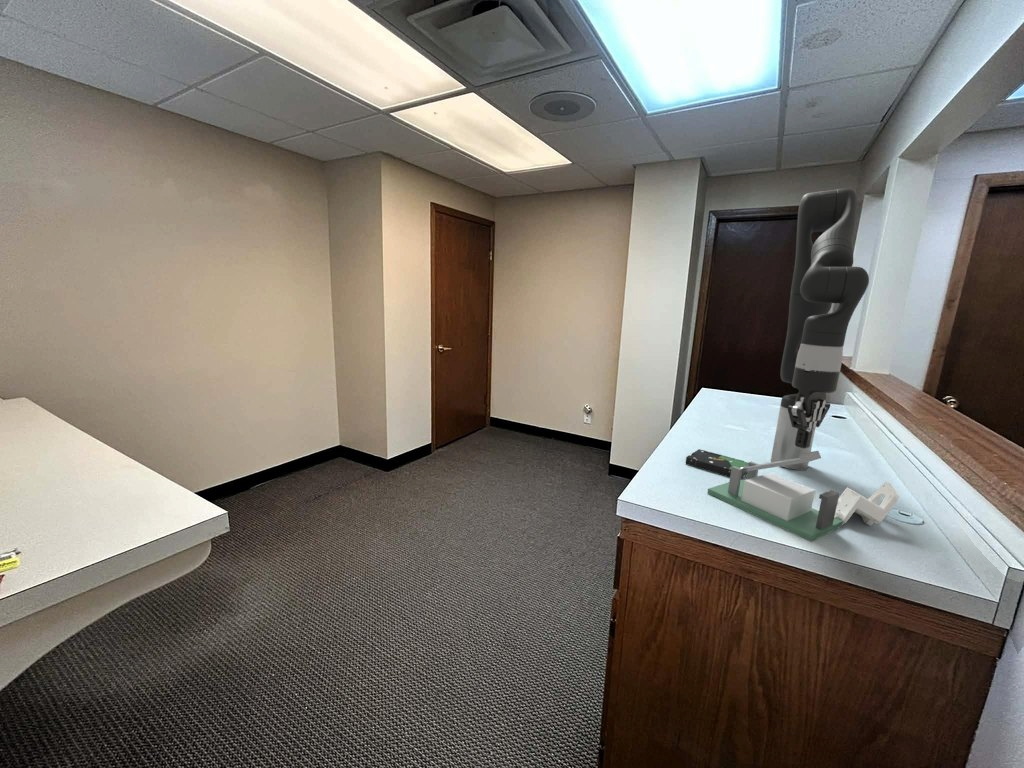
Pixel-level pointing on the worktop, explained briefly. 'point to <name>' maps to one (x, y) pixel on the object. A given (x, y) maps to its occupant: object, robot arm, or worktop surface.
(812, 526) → the board
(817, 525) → the post
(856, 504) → the mounting bracket
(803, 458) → the strap
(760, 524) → the worktop surface
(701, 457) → the disk drive
